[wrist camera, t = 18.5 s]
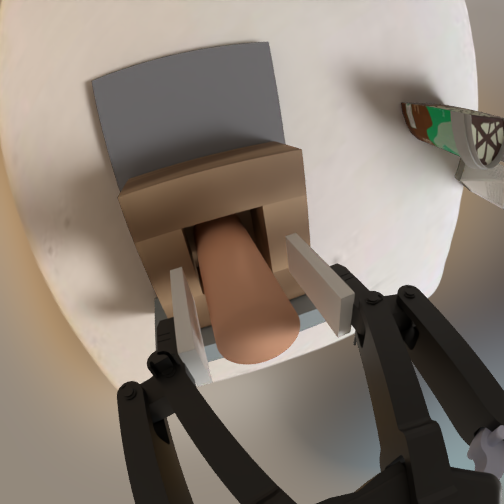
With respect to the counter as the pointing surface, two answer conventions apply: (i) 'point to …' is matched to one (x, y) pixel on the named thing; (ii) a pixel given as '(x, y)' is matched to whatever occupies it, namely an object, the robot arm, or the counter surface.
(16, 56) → the counter surface
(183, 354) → the robot arm
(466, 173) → the skyscraper
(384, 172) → the counter surface
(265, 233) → the block
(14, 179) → the counter surface
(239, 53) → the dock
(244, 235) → the dowel
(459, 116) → the food container
